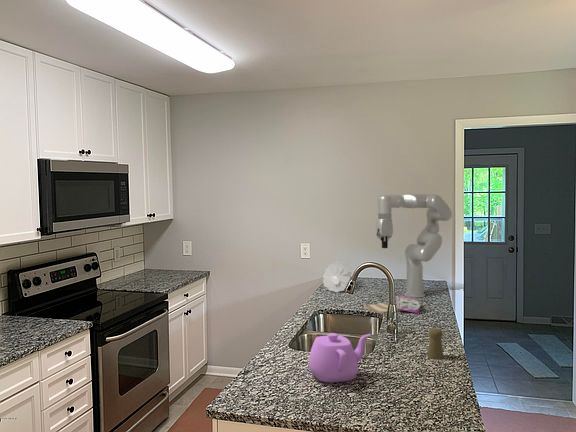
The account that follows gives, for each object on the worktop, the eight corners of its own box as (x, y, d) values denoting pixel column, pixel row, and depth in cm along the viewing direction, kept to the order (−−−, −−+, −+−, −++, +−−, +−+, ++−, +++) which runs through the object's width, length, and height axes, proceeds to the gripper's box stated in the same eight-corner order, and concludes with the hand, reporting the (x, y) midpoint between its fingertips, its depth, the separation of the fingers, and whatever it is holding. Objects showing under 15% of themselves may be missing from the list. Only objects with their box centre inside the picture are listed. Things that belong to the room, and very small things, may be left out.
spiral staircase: (329, 299, 304) (333, 289, 328) (354, 288, 300) (356, 278, 324) (316, 273, 304) (321, 265, 328) (341, 262, 300) (344, 254, 324)
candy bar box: (396, 302, 270) (397, 309, 254) (397, 294, 270) (399, 300, 254) (416, 306, 269) (418, 314, 252) (417, 298, 268) (420, 304, 252)
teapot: (320, 392, 156) (320, 347, 156) (304, 369, 177) (303, 328, 176) (385, 385, 162) (385, 341, 161) (362, 363, 182) (362, 324, 181)
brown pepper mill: (443, 355, 190) (443, 327, 190) (443, 360, 185) (443, 332, 184) (427, 353, 192) (428, 326, 192) (427, 358, 187) (427, 330, 186)
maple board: (382, 304, 273) (382, 302, 273) (403, 310, 260) (403, 307, 260) (363, 308, 264) (363, 306, 264) (383, 314, 252) (383, 312, 252)
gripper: (389, 215, 287) (388, 246, 288) (370, 217, 278) (370, 248, 280) (398, 216, 281) (398, 247, 282) (380, 217, 272) (380, 249, 273)
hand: (384, 248), depth 281 cm, fingers closed
